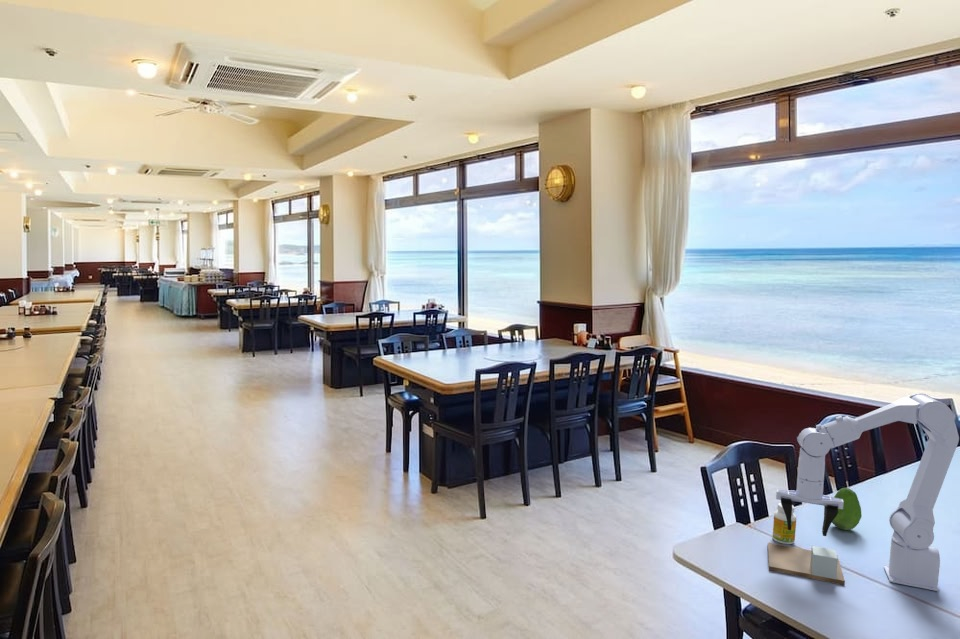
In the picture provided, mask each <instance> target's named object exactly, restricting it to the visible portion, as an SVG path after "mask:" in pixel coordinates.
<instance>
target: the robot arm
mask: <svg viewBox="0 0 960 639" xmlns="http://www.w3.org/2000/svg"><path fill="white" fill-rule="evenodd" d="M895 422H902V423H903V422H904V423H908V424H913V425H918V424H919V425H920V426H921V428H922V430H923V431H924V432H925V434H926V436H928V439H927V440H928V441H927V442H926V446H925V448H924V451H923V453H922V456H921V459H920V462H919V465H918V467H917V470H916V472H915V475H914V478H913V480H912V483H911V486H910V489H909V491H908V494H907V496H906V498H905V499H903V500H902V501H900V502H899V504H898V507H897V508H896V509H895V510H894V511H892V513H891V514H890V515H889V525H890V527H891V528H892V530H893V533H892V534H891V541H890V552H889V560H888V562H889V563H888V565H884V566H883V569H884V572H885V573H886V576H887V578H888V580H889V582H890V583H894V584H899V585H904V586H909V587H915V588H918V589H919V588H920V589H925V590H928V591H929V590H931V591H935V592H938V591H939V587H938V586H939V579H940V578H939V575H940V567H941V558H940V552H939V549H938V547H937V546H932V544H933V542H934V540H935V534H934V527H935V523H936V522H935V517H934V516H935V515H934V508H935V505H936V502H937V499H938V497H939V494H940V492H941V490H942V486H943V483H944V481H945V479H946V476H947V473H948V471H949V468H950V465H951V462H952V460H953V458H954V456H955V453H956V449H957V448H958V444H959V441H960V436H959V432H958V428H957V424H956V414H955V413H954V412H953V411H952V409H950V407H949V406H948V405H947V404H946V403H944V402H942V401H939V400H936V399H935V398H933V397H931V396H929V395H927V394H926V393H918V392H917V393H914V394H911V395H910V396H905V397H904V396H903V397H901V398H899V399H896V400H895V401H893V402H891V403H889V404H886V405H884V406H881V407H880V408H877V409H875V410H872V411H870V412H868V413H865V414H862V415H859V416H857V417H855V418H853V417H851V416H848V415H846V416H842V415H838V416H835V419H834V420H832V421H830V422H826V423H823V424H816V425H815V427H816V428H815V427H807V428H803V429H802V430H801V432H799V434H798V436H796V440H797V443H798V445H799V446H800V447H799V455H798V456H799V457H798V464H797V465H798V466H797V476H796V490H792V489H791V490H788V489H787V490H786V489H785V490H784V489H779V488H777V489H775V490H776V491H775V492H776V494H775V499H776V500H780V503H781V505H782V507H783V510H784V512H785V515H786V519H787V527H788V530H791V515H792V505H793V502H796V503H797V502H799V503H805V504H810V505H817V506H824V507H823V509H824V511H823V522H822V528H821V530H822V531H821V532H822V533H821V534H822V536H823V537H827V534H828V532H829V529H830V526H831V524H833V523H832V521H833V520H834V518H835V517H836V516H837V514H838V509H843V504H844V502H843V499H839V498H834V496H829V495H825V494H824V483H825V482H824V481H825V471H826V470H825V468H826V467H825V466H826V455H827V454H828V453H829V452H830V450H831V449H833V448H836V447H840V446H843V445H846V444H848V443H851V442H854V441H856V440H859V439H860V437H861V435H862V433H863V432H866V431H869V430H873V429H876V428H878V427H882V426H885V425H890V424H892V423H895Z"/></svg>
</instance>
